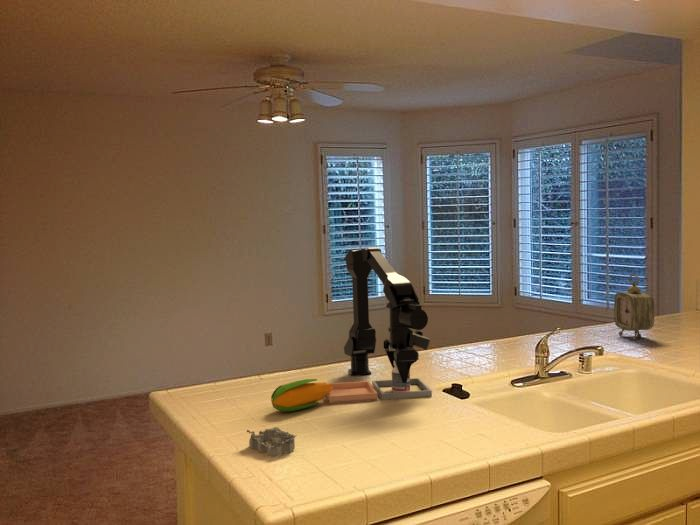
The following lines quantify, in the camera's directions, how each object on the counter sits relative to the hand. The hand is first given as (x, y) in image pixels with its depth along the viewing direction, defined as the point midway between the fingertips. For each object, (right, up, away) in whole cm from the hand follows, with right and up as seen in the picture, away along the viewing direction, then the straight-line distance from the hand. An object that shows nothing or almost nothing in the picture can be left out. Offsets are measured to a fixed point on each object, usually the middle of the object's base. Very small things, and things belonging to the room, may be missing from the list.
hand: (400, 378), depth 188 cm
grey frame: (0, -4, 0) cm, 4 cm away
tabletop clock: (+97, +4, +68) cm, 119 cm away
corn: (-27, -6, -13) cm, 31 cm away
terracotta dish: (-15, -4, -3) cm, 15 cm away
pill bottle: (0, -4, 0) cm, 4 cm away
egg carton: (-32, -8, -43) cm, 54 cm away
